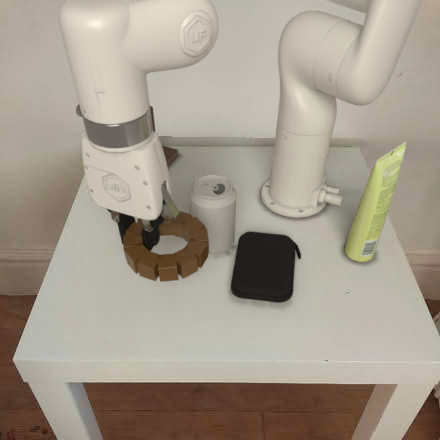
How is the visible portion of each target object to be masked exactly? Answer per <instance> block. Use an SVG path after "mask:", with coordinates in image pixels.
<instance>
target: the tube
mask: <svg viewBox="0 0 440 440" xmlns="http://www.w3.org/2000/svg"><path fill="white" fill-rule="evenodd" d="M407 143H408V142H407V141H405V142H403V143H402V144H400V145H398V146H397V147H395V148H394V149H392V150H390V151H389V152H387V153H386V154H383V155H382V156H381V157H379V158H377V159H376V162H375V163H374V165H373V167H372V169H371V172H370V174H369V177H368V179H367V182H366V184H365V187H364V189H363V192H362V195H361V198H360V201H359V204H358V206H357V210H356V212H355V215H354V218H353V222H352V224H351V227H350V231H349V233H348V237H347V240H346V244H345V247H344V254H345V255H346V256H347V257H348V258H349V259H350V260H352V261H355V262H359V263H365V262H369V261H370V260H372V259H373V258H374V255H375V253H376V250H377V246H378V245H379V241H380V238H381V235H382V231H383V229H384V226H385V222H386V220H387V216H388V213H389V209H390V207H391V204H392V201H393V196H394V193H395V189H396V187H397V182H398V180H399V175H400V172H401V168H402V164H403V161H404V157H405V154H406V153H405V152H406V147H407Z"/></svg>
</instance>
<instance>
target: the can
mask: <svg viewBox="0 0 440 440" xmlns="http://www.w3.org/2000/svg"><path fill="white" fill-rule="evenodd" d="M188 193H189V194H188V199H189V214H191V215H192V218H193V217H197V218H198V219H199V220H200V221H201V222H202V223H203V224H204V225H205V228H207V231H208V238H209V254H208V255H218V254H222V253H224V252H226V251H228V250H229V249H231V248H232V247H233V245H234V243H235V236H236V235H235V234H236V215H237V214H236V213H237V211H236V210H237V191H236V188H235V187H234V184H233V182H232V181H231V179H229V178H228V177H225V176H224V175H219V174H205V175H202V176H200V177H198V178H196V179H195V181H194V182H193V184H192V187H191V189H190V190H189V192H188Z"/></svg>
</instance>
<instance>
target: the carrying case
mask: <svg viewBox="0 0 440 440" xmlns="http://www.w3.org/2000/svg"><path fill="white" fill-rule="evenodd" d="M237 241H238V242H237V247H236V253H235V258H234V263H233V270H232V276H231V281H230V291H231V293H232V295H233V296H234V297H236V298H238V299H243V300H251V301H260V302H267V303H269V302H270V303H277V304H278V303H279V304H280V303H281V304H282V303H285V302H287V301H288V300H290V299H291V298H292V297H293V295H294V282H295V281H294V280H295V265H296V256H297V258H298V260H301V259H302V253H301V249H300V248H299V245H298V243H296V242H295V241H294V240H293V239H292V238H291V237H290V236H289V235H286V234H281V233H280V234H278V233H271V232H261V231H252V230H251V231H245V232H244V233H242V234H241V235H240V236H239V238H238V240H237Z"/></svg>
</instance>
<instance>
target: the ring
mask: <svg viewBox="0 0 440 440" xmlns="http://www.w3.org/2000/svg"><path fill="white" fill-rule="evenodd" d="M178 211H179V213H180V214H179V216H178V217H177V218H176V220H175V221H170V222H163V223H162V224H160V225H159V226H158V227H159V234H160V237H166V236H167V237H168V236H175V237H178V238H180V239H183V240H184V241H185V242H186V245H185V246H184V247H183V248H181V249H179V250H177V251H175V252H173V253H161V254H160V253H156V252H153V251H152V250H151V251H149V250H148V249H147V248H146V247H145V246H144V244H143V239H142V235H141V230H142V229H143V228H144V227H143V223H142V219H141V218H137V219H136V220H137V221H135V222H133V223H132V225H131V226H130V227H129V228H128V229H127V231H126V232H125V233H126V235H124V239H123V244H122V248H123V252H124V257H125V261H126V263H127V265H128V266H129V267H130V268H131V269H132V271H133V272H134V273H135V274H136V275H137V274H138V276H140V277H141V278H145V279H147V280H151V281H154V282H157V280H158V279H159V282H161V283H162V282H172V281H179V280H180V278H181V279H183V280H184V279H186V278H187V277H189V276H191V275H193V274H195V273H197V272H199V269H201V268H202V267H203V266H204V265H205V263H206V261H207V259H208V258H209V255H210V254H209V238H208V231H207V228H205V225H204V224H203V223H202V222H201V221H200V220H199V219H198V218H197V217H193V218H192V215H191V214H190V213H187V212H184V211H181V210H178Z"/></svg>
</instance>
